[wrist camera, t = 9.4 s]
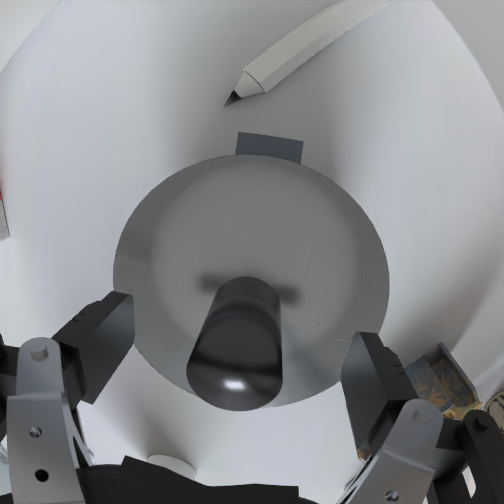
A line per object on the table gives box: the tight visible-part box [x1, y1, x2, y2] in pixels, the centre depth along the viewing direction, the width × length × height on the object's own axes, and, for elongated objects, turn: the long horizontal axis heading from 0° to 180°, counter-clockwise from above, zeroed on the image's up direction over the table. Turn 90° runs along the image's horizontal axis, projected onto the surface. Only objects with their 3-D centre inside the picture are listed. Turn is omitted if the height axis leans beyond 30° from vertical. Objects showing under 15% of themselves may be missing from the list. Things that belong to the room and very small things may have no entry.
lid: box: [113, 155, 389, 411], centre depth 11 cm, size 12×12×6 cm
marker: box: [223, 0, 390, 108], centre depth 16 cm, size 3×2×16 cm
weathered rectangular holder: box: [346, 342, 482, 464], centre depth 21 cm, size 11×3×10 cm, turn 128°
